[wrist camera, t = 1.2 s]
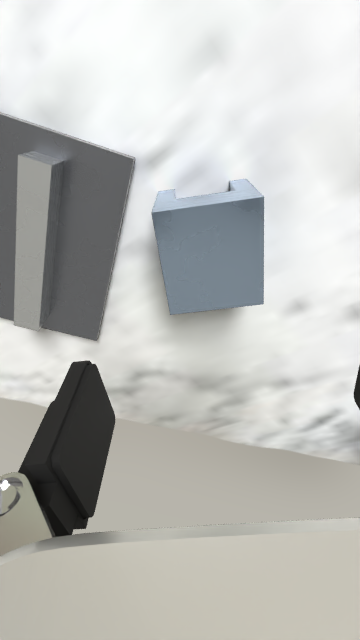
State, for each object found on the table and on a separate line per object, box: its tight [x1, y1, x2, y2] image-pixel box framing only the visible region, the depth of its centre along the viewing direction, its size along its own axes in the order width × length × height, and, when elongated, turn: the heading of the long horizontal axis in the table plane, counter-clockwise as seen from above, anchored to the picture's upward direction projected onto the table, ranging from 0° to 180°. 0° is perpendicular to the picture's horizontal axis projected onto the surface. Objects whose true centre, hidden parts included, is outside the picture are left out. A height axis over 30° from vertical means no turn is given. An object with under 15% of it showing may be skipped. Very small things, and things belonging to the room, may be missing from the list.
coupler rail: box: [0, 112, 135, 341], centre depth 24 cm, size 11×16×3 cm
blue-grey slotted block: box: [152, 179, 264, 315], centre depth 23 cm, size 6×7×6 cm
